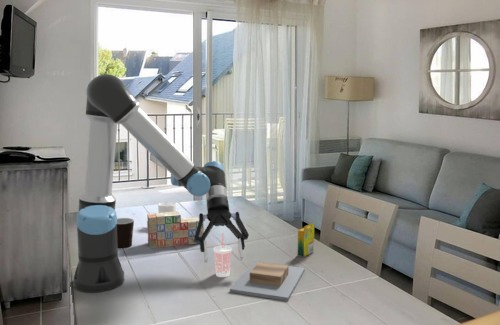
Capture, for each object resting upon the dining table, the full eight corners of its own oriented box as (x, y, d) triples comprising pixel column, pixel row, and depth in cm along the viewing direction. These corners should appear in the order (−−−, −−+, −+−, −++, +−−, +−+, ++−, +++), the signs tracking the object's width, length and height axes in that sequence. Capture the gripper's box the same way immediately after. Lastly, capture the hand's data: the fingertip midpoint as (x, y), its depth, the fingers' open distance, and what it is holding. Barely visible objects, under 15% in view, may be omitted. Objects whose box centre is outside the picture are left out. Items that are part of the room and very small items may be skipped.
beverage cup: (232, 271, 154) (232, 230, 152) (231, 278, 148) (231, 236, 146) (214, 270, 155) (214, 230, 152) (212, 277, 149) (212, 236, 146)
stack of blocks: (200, 238, 189) (200, 209, 187) (203, 243, 183) (203, 213, 181) (147, 243, 182) (147, 213, 181) (149, 248, 176) (148, 217, 175)
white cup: (155, 227, 204) (154, 205, 202) (163, 222, 211) (163, 201, 210) (171, 228, 201) (171, 206, 200) (179, 224, 209) (178, 202, 207)
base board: (288, 301, 132) (288, 297, 132) (229, 292, 138) (229, 288, 138) (304, 271, 155) (304, 268, 155) (253, 264, 161) (253, 261, 160)
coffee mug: (128, 250, 173) (127, 224, 172) (107, 248, 175) (106, 223, 174) (141, 240, 185) (141, 216, 183) (121, 239, 186) (121, 215, 185)
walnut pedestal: (280, 289, 140) (280, 276, 140) (249, 284, 143) (249, 272, 143) (288, 277, 150) (288, 265, 149) (258, 273, 153) (259, 261, 152)
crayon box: (307, 250, 176) (308, 220, 174) (314, 252, 174) (315, 222, 172) (296, 255, 170) (297, 225, 168) (303, 257, 168) (304, 226, 166)
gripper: (248, 205, 166) (257, 262, 153) (183, 208, 161) (187, 266, 148) (251, 194, 160) (261, 252, 147) (184, 196, 155) (188, 256, 142)
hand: (224, 259), depth 148 cm, fingers open, 11 cm apart
